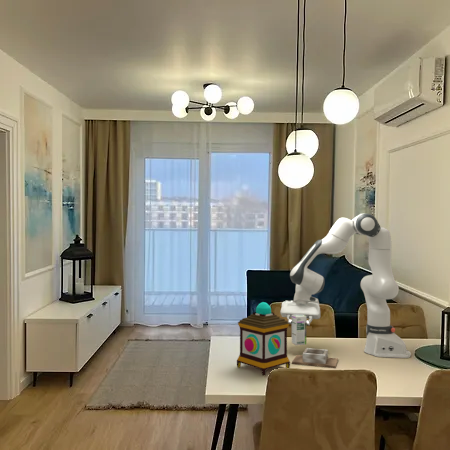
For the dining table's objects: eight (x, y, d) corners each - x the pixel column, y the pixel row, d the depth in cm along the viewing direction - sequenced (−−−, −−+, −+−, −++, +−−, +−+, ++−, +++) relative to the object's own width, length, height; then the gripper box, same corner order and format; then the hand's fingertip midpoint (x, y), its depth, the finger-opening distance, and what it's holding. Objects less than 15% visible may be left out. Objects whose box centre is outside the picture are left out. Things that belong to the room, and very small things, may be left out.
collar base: (338, 360, 230) (338, 350, 230) (335, 368, 218) (335, 357, 218) (296, 356, 236) (296, 346, 236) (291, 363, 224) (291, 353, 224)
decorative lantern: (262, 359, 231) (263, 297, 231) (294, 369, 216) (294, 302, 216) (232, 367, 218) (232, 301, 218) (263, 378, 203) (264, 307, 203)
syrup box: (296, 345, 238) (296, 316, 238) (291, 342, 243) (291, 314, 243) (306, 344, 239) (306, 315, 239) (301, 342, 245) (301, 313, 245)
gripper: (281, 296, 251) (277, 319, 242) (321, 298, 244) (318, 321, 235) (283, 304, 255) (279, 326, 246) (322, 306, 249) (319, 329, 239)
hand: (298, 324), depth 241 cm, fingers closed on syrup box, 8 cm apart
